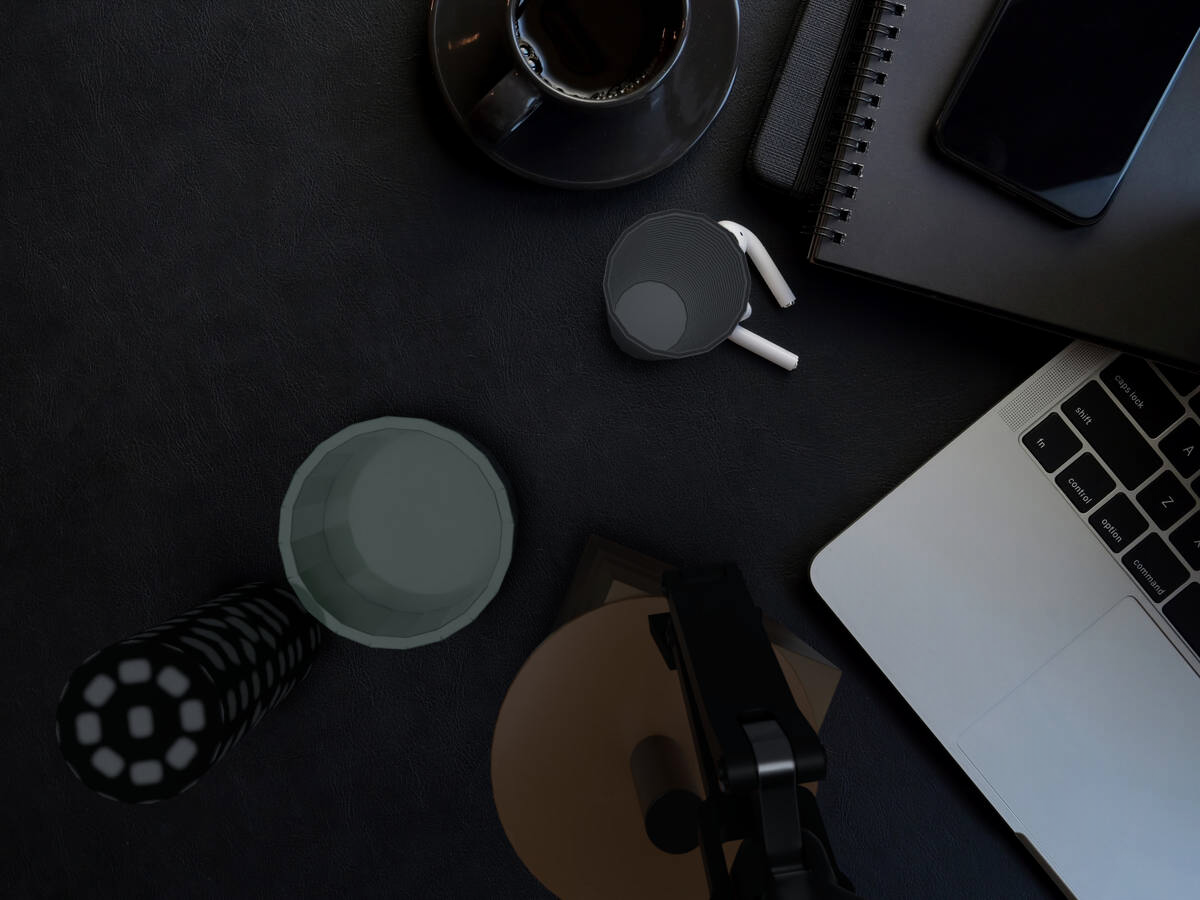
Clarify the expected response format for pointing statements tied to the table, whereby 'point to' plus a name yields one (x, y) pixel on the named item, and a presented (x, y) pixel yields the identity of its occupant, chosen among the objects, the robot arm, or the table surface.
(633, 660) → the lid
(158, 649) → the spotted tube
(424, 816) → the table surface
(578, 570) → the stand
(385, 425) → the pot
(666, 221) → the cup
